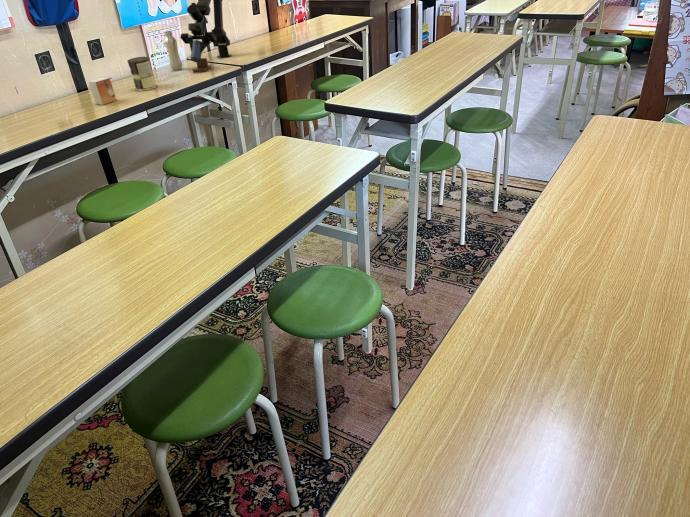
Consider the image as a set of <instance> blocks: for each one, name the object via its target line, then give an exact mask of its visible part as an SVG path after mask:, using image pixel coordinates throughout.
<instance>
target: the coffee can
mask: <svg viewBox="0 0 690 517" xmlns="http://www.w3.org/2000/svg"><path fill="white" fill-rule="evenodd" d="M126 62H127V64H128V67H129V71H130V74H131V78H132V80H133V84H134V87H135V90H136V91H137V92H138V91H139V92H143V91H150V90H153V89H156V87H157V83H156V79H155V76H154V73H153V69H152V64H151V61H150V57H149V56H137V57H132V58H129V59H127V61H126Z"/></svg>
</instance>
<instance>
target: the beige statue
mask: <svg viewBox="0 0 690 517" xmlns="http://www.w3.org/2000/svg"><path fill="white" fill-rule="evenodd" d="M164 36H165V38H164V45H165V48H166V50H167V53H168V59H169V67H170V69H171V70H173V71H179V70H181V69H183V62H182V60H181V57H180V53H179V47H178V40H177V39H176V38H175V37H174V36H173V32H172V31H171V30H167V31H164Z"/></svg>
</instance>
